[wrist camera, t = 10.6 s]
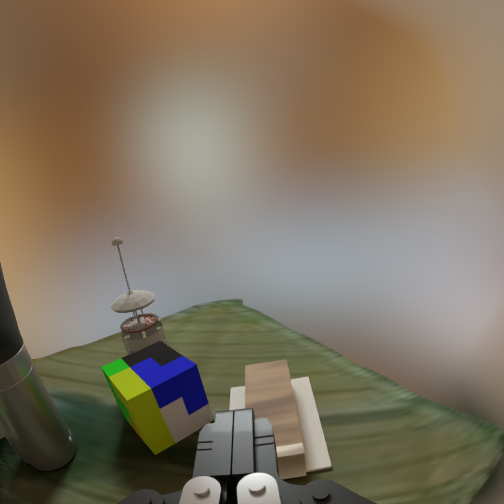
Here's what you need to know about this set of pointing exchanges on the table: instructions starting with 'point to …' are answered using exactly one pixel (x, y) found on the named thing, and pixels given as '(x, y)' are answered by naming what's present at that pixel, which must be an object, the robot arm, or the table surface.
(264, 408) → the walnut block
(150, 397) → the puzzle toy
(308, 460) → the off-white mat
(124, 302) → the french press
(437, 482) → the table surface
